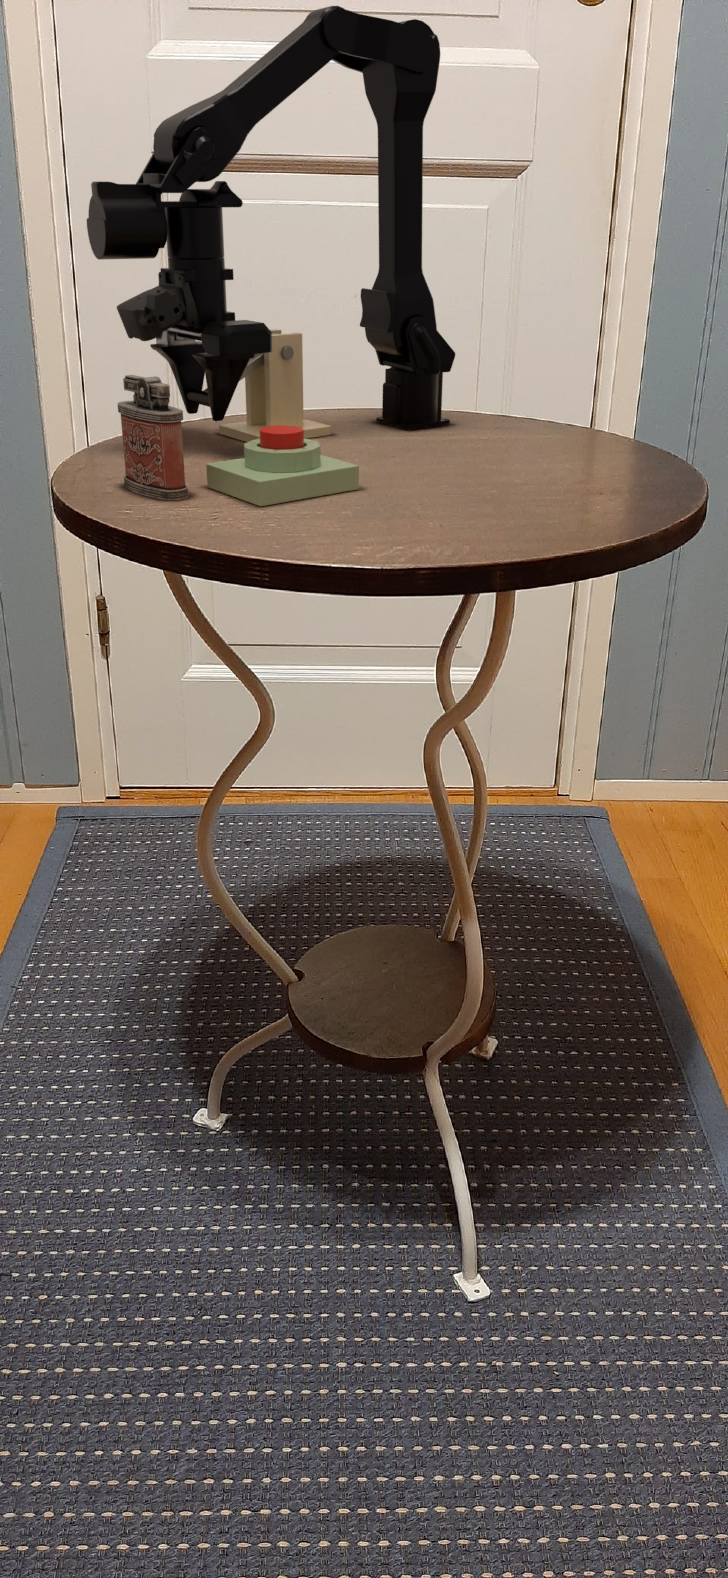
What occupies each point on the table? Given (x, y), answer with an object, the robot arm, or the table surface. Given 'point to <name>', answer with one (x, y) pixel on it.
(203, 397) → the lever
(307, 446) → the button box
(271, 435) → the button
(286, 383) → the bracket
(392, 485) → the table surface
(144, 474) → the lighter
